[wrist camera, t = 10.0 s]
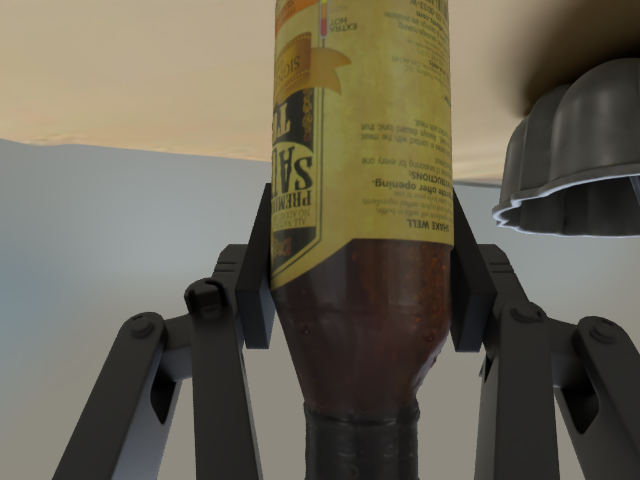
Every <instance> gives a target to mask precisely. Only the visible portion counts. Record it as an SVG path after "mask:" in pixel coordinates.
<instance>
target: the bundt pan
mask: <svg viewBox="0 0 640 480" xmlns="http://www.w3.org/2000/svg"><path fill="white" fill-rule="evenodd" d="M492 217H493V218H494V219H496V220H497V226H499V227H509V228H513V229H514V230H515V231H518V232H523V233H529V234H543V235H544V234H545V235H549V234H550V235H556V236H559V237H578V236H585V237H586V236H587V237H602V238H603V237H604V238H615V237H616V238H617V237H640V58H621V59H615V60H611V61H608V62H605V63H603V64H600V65H598V66H596V67H594V68H593V69H591V70H589V71H588V72H586V73H585V74H583V75H582V76H581V77H580V78H579V79H578V80H577V81H576V82H575V83H569V84H564V85H561V86H558V87H555V88H553V89H551V90H550V91H548V92H547V93H545V94H544V95H543V96H542V97H541V98H540V99H539V100H538V101H537V102H536V103H535V105H534V106H533V108H532V110H531V112H530V114H529V115H528V116H527V117H525V118H524V119H523V120H522V121H521V123H520V124H519V125H518V126H517V127H516V129H515V131H514V132H513V134H512V136H511V138H510V141H509V144H508V147H507V152H506V159H505V166H504V173H503V180H502V187H501V195H500V201H499V205H497V206H495V207H494V208H493V210H492Z"/></svg>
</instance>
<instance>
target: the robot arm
mask: <svg viewBox="0 0 640 480" xmlns="http://www.w3.org/2000/svg"><path fill="white" fill-rule="evenodd" d="M271 208H272V203H271V183H266V185H265V189H264V193H263V195H262V199H261V202H260V206H259V209H258V212H257V216H256V219H255V223H254V226H253V229H252V233H251V236H250V240H249V243H248V244H229V245H228V246H227V247H226V248H225V249H224V250H223V251H222V252H221V253H220V256H219V258H218V261H217V264H216V266H215V269H214V272H213V275H212V277H211V278H203V279H200V280H198V281H195V282H194V283H192V284H191V285H190V286H189V287H188V288H187V289H186V290H185V294H184V299H185V302H186V305H187V308H188V311H189V313H188V314H186V315H183V316H180V317H176V318H172V319H167V320H163V318H162V316H161V315H159V314H157V313H155V312H144V313H140V314H137V315H135V316H133V317H131V318H130V319H128V320H127V321H126V322H125V323H124V324H123V325H122V327H121V329H120V330H119V332H118V335H117V337H116V339H115V341H114V344H113V346H112V348H111V350H110V352H109V355H108V357H107V359H106V361H105V363H104V366H103V368H102V370H101V372H100V375H99V377H98V379H97V381H96V383H95V385H94V388H93V390H92V392H91V394H90V397H89V399H88V401H87V403H86V405H85V408H84V410H83V412H82V414H81V416H80V419H79V421H78V423H77V425H76V427H75V430H74V432H73V434H72V436H71V438H70V441H69V443H68V445H67V447H66V450H65V452H64V454H63V456H62V458H61V461H60V463H59V465H58V467H57V469H56V472H55V474H54V476H53V478H52V480H157V476H158V472H159V468H160V464H161V460H162V457H163V453H164V449H165V445H166V441H167V438H168V434H169V430H170V426H171V423H172V419H173V415H174V411H175V407H176V403H177V400H178V396H179V392H180V388H181V385H182V381H183V379H187V378H191V377H192V381H193V406H194V432H195V456H196V480H263V474H262V469H261V462H260V455H259V449H258V443H257V437H256V431H255V426H254V419H253V413H252V406H251V400H250V394H249V388H248V382H247V376H246V370H245V364H244V357H243V353H242V348H243V344H244V340H245V344H246V348H247V349H269V344H270V338H271V333H272V327H273V321H274V315H275V310H276V308H275V305H274V302H273V300H272V297H271V294H270V249H271V217H272V215H271ZM453 220H454V248H453V250H451V251H450V264H451V269H450V274H451V288H452V291H451V292H452V311H453V312H452V316H451V325H450V328H449V329H450V332H451V336H452V340H453V344H454V347H455V351H456V352H479V351H480V348H481V345H482V341H483V344H484V347H485V350H486V356H485V359H484V362H483V365H482V368H481V371H480V374H479V377H482V386H481V399H480V411H479V425H478V438H477V450H476V462H475V475H474V480H560V473H559V460H558V446H557V434H556V420H555V406H554V394H555V397H556V400H557V403H558V405H559V408H560V411H561V413H562V416H563V419H564V422H565V425H566V427H567V430H568V433H569V436H570V438H571V440H572V444H573V447H574V449H575V452H576V455H577V458H578V460H579V463H580V466H581V468H582V471H583V474H584V477H585V479H586V480H640V354H639V353H638V351H637V349H636V348H635V346H634V344H633V342H632V341H631V339H630V337H629V336H628V334H627V333H626V332H625V331H624V330H623V329H622V328H621V327H620V326H618V325H617V324H616V323H614V322H612V321H610V320H608V319H605V318H602V317H597V316H588V317H584V318H582V319H580V321H579V323H578V325H574V324H570V323H566V322H562V321H558V320H555V319H552V318H549V317H547V315H546V313H545V312H544V311H543V310H542V308H540V307H539V306H538V305H536V304H534V303H533V302H530V301H529V300H528V298H527V296H526V294H525V292H524V290H523V288H522V286H521V284H520V282H519V280H518V278H517V276H516V274H515V273H514V270H513V268H512V266H511V265H510V262H509V260H508V258H507V256H506V254H505V253H504V252H503V251H502V250H501V249H500V248H499V247H498V246H496V245H495V244H477V243H476V240H475V238H474V236H473V233H472V231H471V228H470V226H469V224H468V221H467V219H466V217H465V215H464V212H463V209H462V207H461V205H460V203H459V200H458V198H457V195H456V193H455V191H454V188H453ZM553 392H554V393H553Z"/></svg>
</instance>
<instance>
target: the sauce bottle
mask: <svg viewBox="0 0 640 480" xmlns="http://www.w3.org/2000/svg"><path fill="white" fill-rule="evenodd" d="M272 131H273V133H272V145H273V151H272V181H271V203H272V208H271V215H272V217H271V249H270V294H271V297H272V300H273V302H274V305H275V308H276V311H277V314H278V317H279V319H280V323H281V325H282V328H283V331H284V335H285V337H286V341H287V344H288V348H289V351H290V354H291V357H292V361H293V364H294V367H295V370H296V374H297V377H298V380H299V384H300V387H301V390H302V394H303V397H304V400H305V401H304V404H303V405H304V413H305V418H306V450H305V460H306V477H305V480H419V478H418V453H417V449H418V440H417V433H418V432H417V422H418V420H419V418H420V410H419V407H418V402H417V399H416V393H417V391H418V389H419V387H420V386H421V385H422V382H423V380H424V378H425V376H426V375H427V373H428V371H429V370H430V368H431V367H432V366H433V364H434V363H435V362H436V357H437V356H438V354H439V353H440V352H441V349H442V347H443V346H444V343H445V341H446V339H447V336H448V334H449V328H450V325H451V316H452V312H453V311H452V292H451V291H452V288H451V274H450V269H451V264H450V251H451V250H453V248H454V220H453V181H452V136H451V91H450V50H449V17H448V0H277V1H276V9H275V53H274V95H273V123H272Z"/></svg>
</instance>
